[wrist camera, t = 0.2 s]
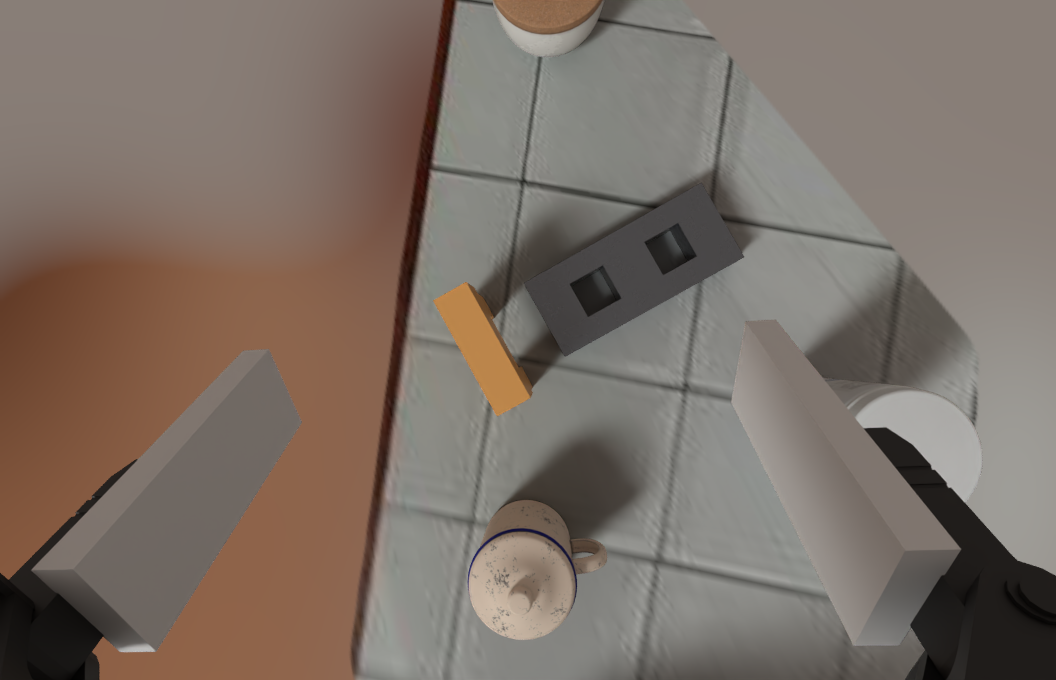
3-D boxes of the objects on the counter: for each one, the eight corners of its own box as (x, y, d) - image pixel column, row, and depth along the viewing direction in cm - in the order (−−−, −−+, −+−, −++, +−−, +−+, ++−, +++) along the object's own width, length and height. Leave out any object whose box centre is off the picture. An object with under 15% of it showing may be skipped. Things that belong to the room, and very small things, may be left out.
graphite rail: (732, 262, 47) (744, 257, 44) (564, 355, 48) (565, 356, 45) (692, 192, 48) (701, 182, 45) (525, 286, 48) (523, 282, 45)
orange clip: (535, 385, 48) (530, 397, 37) (509, 399, 48) (497, 416, 37) (485, 295, 49) (466, 282, 38) (459, 310, 49) (433, 300, 38)
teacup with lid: (490, 592, 48) (471, 671, 37) (475, 503, 48) (451, 554, 37) (608, 575, 48) (626, 650, 36) (592, 485, 48) (605, 530, 36)
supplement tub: (802, 492, 47) (915, 560, 32) (730, 425, 47) (810, 461, 33) (871, 420, 47) (1018, 456, 32) (798, 353, 47) (910, 358, 32)
